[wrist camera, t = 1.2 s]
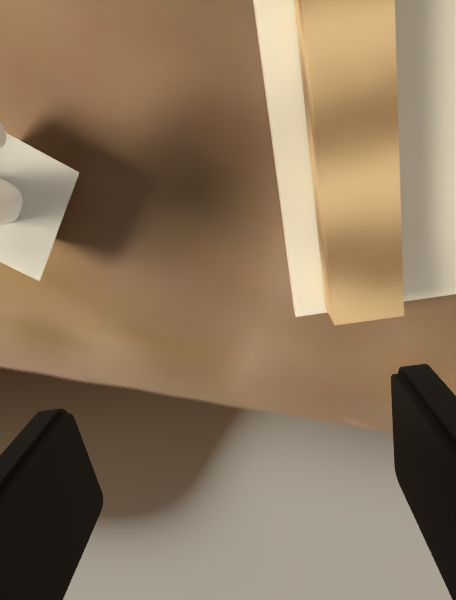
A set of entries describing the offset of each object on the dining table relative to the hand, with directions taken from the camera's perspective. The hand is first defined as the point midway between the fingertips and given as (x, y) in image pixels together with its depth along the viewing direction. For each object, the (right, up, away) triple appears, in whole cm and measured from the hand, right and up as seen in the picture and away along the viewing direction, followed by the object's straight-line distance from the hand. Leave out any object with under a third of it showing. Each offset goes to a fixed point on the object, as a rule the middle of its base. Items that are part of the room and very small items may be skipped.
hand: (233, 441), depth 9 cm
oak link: (+6, +15, +12) cm, 20 cm away
